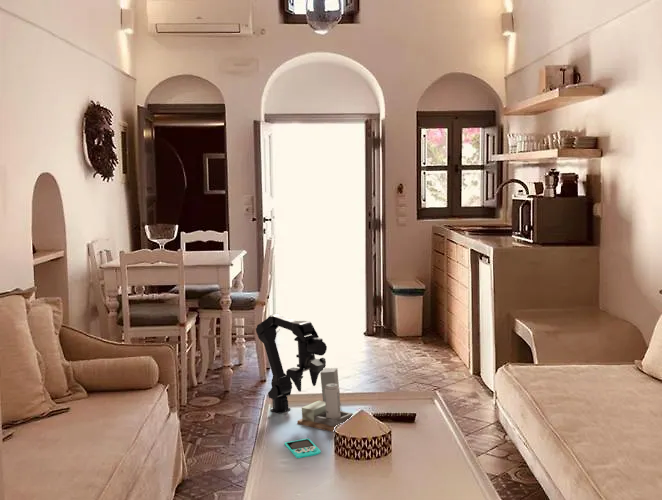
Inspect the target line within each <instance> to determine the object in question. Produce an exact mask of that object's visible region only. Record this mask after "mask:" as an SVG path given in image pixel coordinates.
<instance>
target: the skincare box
mask: <svg viewBox="0 0 662 500" xmlns="http://www.w3.org/2000/svg"><path fill="white" fill-rule="evenodd" d="M338 372H339V370H338V367H331V368H330V367H325V368H323V370H322V371H321V372H320V373H319V374H320V384H321V394H322V401H324V402H325V388H326V385H327V384H330V383H336V384H338V387H339V388H340V385H339V373H338Z"/></svg>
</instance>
